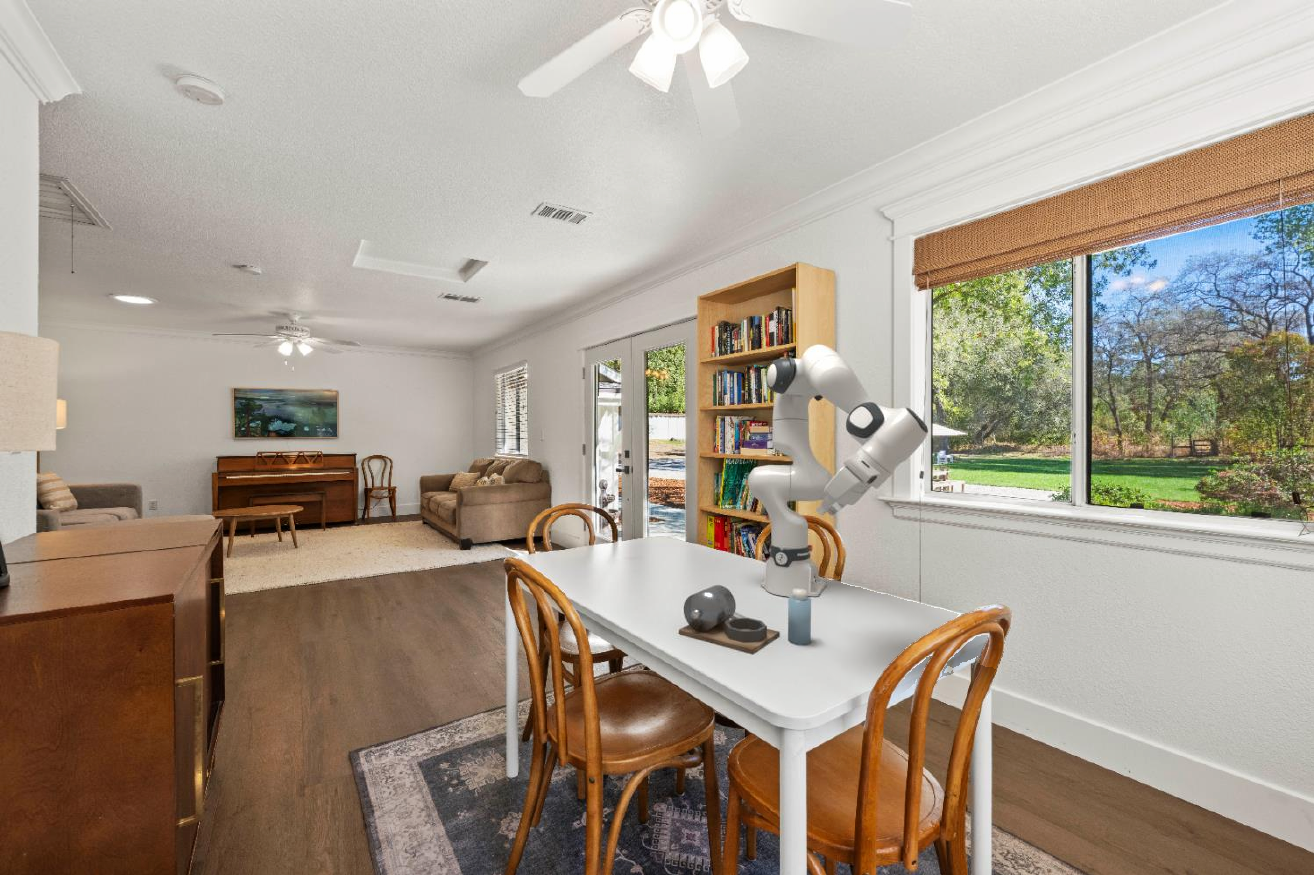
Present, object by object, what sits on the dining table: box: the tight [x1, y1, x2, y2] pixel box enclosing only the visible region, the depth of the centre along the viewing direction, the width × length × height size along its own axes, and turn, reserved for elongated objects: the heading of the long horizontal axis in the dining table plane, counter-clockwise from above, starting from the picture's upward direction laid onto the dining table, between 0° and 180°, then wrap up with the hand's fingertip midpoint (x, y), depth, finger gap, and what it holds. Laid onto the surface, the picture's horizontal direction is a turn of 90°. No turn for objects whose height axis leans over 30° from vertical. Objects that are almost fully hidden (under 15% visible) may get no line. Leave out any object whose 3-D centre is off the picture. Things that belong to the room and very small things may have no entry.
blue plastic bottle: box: [787, 588, 812, 646], centre depth 131 cm, size 5×5×12 cm
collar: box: [725, 617, 768, 643], centre depth 132 cm, size 9×9×2 cm
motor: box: [683, 584, 737, 632], centre depth 137 cm, size 12×9×9 cm
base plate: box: [678, 619, 780, 655], centre depth 135 cm, size 14×20×1 cm
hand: (824, 513), depth 129 cm, fingers open, 8 cm apart
